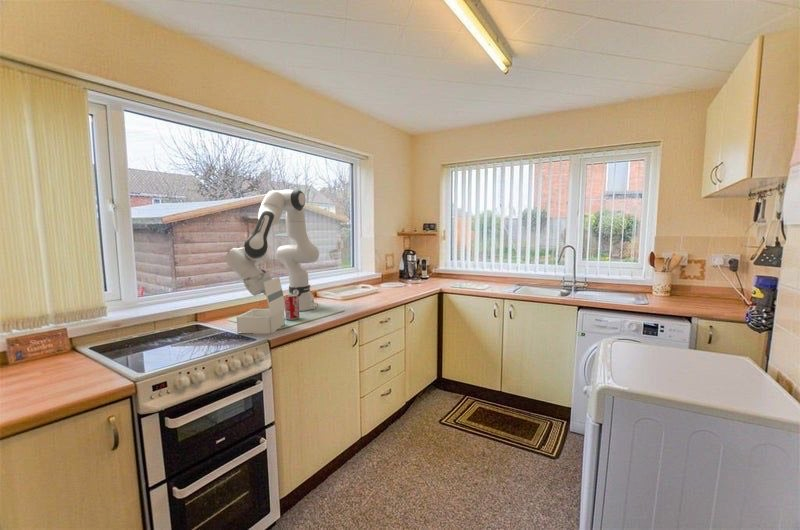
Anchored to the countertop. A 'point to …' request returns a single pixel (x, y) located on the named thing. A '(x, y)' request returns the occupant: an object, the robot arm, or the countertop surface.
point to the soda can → (292, 306)
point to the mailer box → (260, 321)
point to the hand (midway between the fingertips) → (273, 297)
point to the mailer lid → (274, 295)
